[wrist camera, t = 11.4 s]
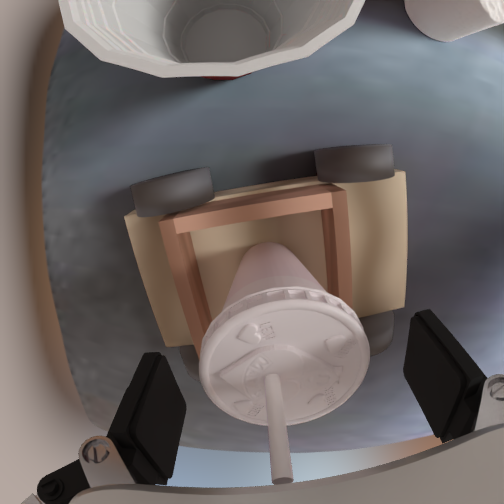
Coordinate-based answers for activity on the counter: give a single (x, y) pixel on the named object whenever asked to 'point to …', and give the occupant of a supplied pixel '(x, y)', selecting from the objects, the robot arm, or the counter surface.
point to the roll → (454, 17)
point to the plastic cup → (206, 33)
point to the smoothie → (281, 349)
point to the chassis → (274, 240)
